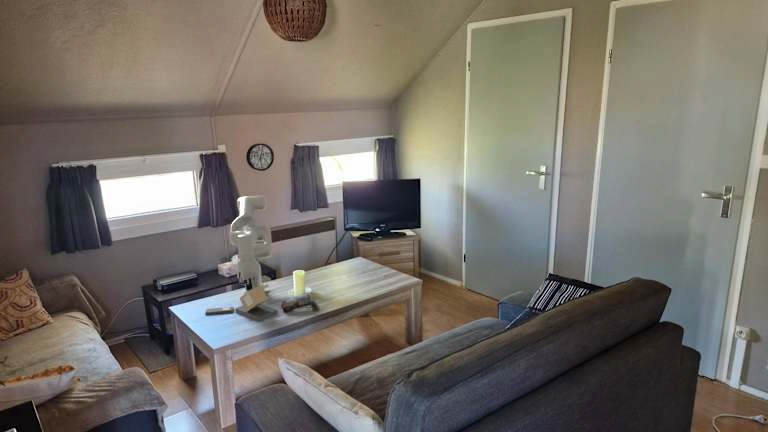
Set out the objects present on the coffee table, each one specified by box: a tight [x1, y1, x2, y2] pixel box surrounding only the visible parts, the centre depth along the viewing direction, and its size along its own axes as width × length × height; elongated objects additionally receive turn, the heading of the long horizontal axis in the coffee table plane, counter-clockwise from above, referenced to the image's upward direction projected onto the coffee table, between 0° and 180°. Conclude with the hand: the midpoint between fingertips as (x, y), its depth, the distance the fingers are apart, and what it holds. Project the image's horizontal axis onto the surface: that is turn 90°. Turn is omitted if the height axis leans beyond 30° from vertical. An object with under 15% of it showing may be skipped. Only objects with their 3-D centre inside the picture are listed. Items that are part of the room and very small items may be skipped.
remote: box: [205, 306, 235, 316], centre depth 263 cm, size 14×4×2 cm, turn 100°
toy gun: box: [280, 295, 321, 314], centre depth 262 cm, size 4×20×10 cm, turn 95°
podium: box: [234, 303, 279, 323], centre depth 261 cm, size 12×20×2 cm, turn 53°
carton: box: [239, 286, 269, 312], centre depth 257 cm, size 8×8×11 cm
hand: (249, 290), depth 257 cm, fingers closed
